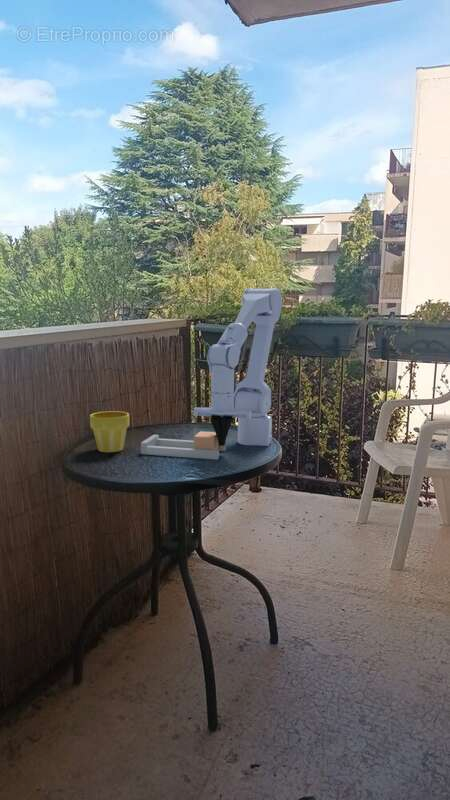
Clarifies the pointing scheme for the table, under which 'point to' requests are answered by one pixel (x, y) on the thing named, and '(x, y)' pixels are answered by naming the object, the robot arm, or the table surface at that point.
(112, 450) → the plant pot
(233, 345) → the robot arm
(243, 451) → the table surface
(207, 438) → the block
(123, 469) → the table surface
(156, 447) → the chute
